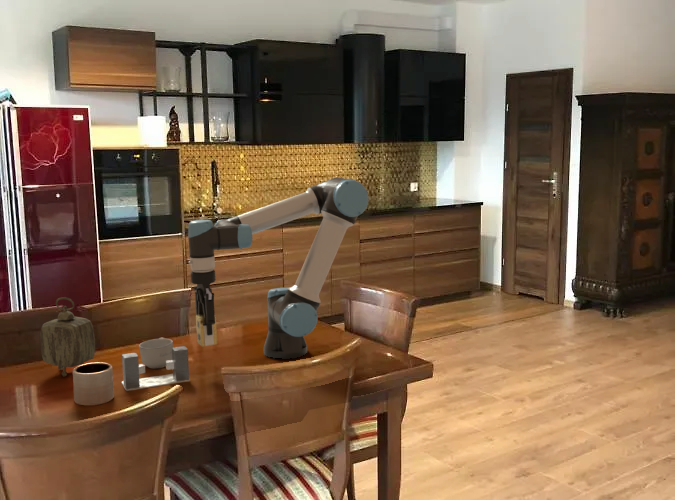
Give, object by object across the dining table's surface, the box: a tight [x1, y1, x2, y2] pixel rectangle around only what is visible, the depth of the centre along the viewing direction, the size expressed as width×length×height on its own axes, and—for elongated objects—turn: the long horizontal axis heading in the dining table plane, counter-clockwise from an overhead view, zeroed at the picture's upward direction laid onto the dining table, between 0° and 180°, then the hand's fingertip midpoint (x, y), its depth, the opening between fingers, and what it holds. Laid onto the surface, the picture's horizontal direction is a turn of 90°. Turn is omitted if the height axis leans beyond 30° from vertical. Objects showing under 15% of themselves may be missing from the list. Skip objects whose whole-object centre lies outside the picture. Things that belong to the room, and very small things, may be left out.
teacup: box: [138, 337, 174, 369], centre depth 234 cm, size 14×11×8 cm
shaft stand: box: [121, 345, 191, 392], centre depth 216 cm, size 19×8×10 cm, turn 117°
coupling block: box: [195, 314, 218, 347], centre depth 222 cm, size 5×5×9 cm
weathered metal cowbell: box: [39, 296, 96, 377], centre depth 223 cm, size 14×9×25 cm, turn 71°
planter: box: [72, 361, 115, 407], centre depth 202 cm, size 11×11×10 cm
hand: (206, 342), depth 223 cm, fingers closed on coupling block, 5 cm apart
